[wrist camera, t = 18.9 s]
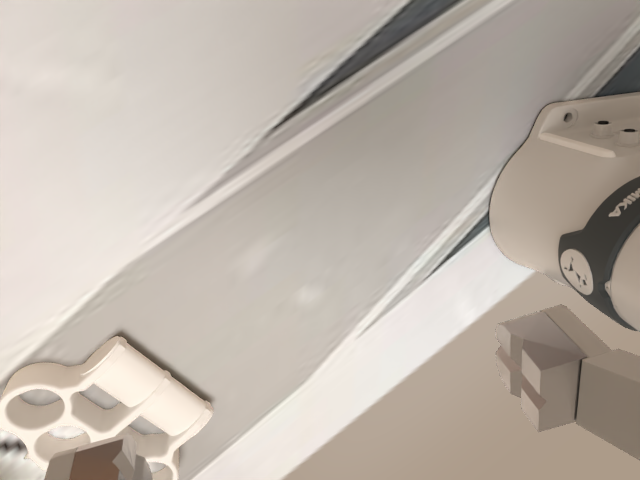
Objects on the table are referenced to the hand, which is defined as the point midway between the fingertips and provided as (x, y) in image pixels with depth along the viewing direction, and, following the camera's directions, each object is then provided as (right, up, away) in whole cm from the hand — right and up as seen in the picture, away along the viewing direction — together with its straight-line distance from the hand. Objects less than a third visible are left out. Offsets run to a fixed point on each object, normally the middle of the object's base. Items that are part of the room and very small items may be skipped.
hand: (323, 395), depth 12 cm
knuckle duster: (-20, -13, +39) cm, 45 cm away
